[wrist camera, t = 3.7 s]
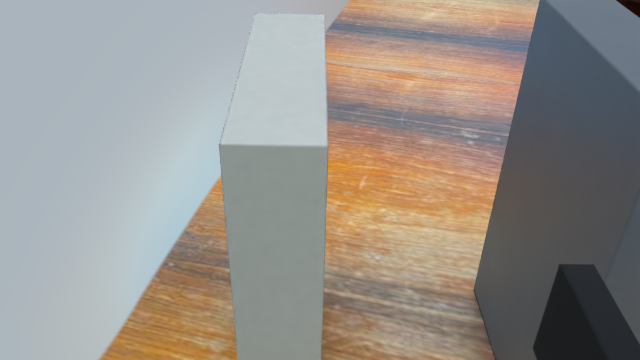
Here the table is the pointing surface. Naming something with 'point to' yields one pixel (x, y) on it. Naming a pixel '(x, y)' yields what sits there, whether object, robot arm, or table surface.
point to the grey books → (567, 172)
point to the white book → (278, 188)
